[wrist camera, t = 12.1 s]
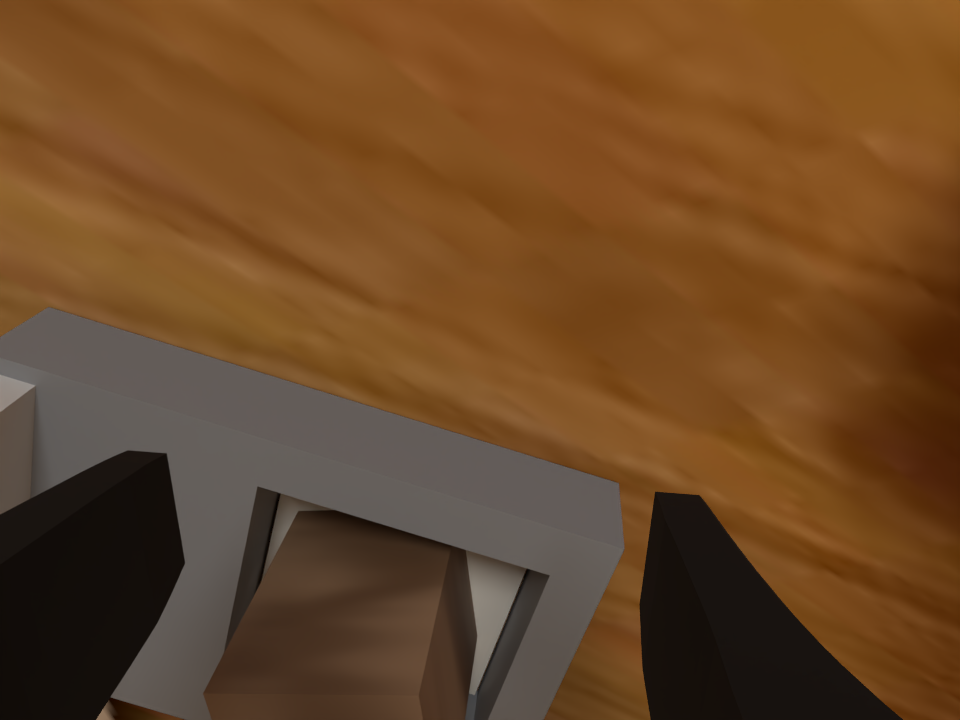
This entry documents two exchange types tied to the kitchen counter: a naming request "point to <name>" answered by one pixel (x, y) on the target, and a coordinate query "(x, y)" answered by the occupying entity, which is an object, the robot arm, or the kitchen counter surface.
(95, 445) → the socket block
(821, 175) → the kitchen counter surface
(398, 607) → the walnut peg
